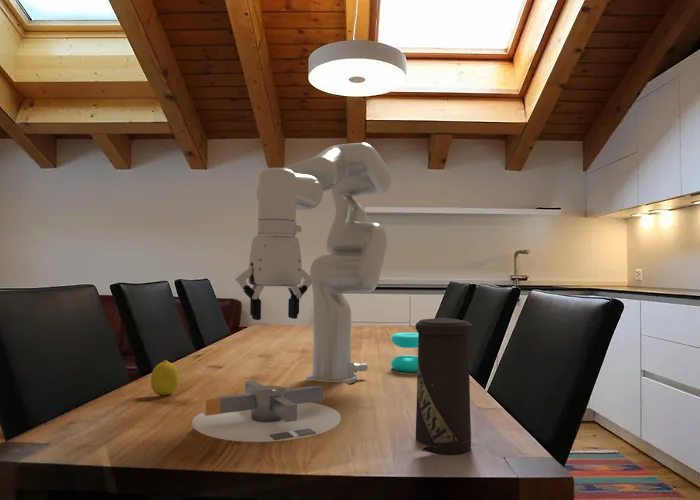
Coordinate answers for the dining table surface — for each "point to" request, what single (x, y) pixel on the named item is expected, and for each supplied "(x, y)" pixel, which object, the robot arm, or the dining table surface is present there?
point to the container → (443, 385)
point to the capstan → (264, 402)
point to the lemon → (164, 378)
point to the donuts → (405, 361)
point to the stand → (268, 425)
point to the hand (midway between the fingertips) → (274, 318)
